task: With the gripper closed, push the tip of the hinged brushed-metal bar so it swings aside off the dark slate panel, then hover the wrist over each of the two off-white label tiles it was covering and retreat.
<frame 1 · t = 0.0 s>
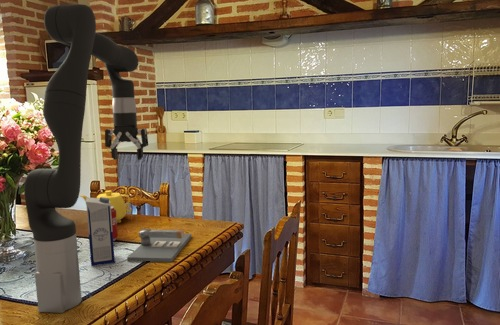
hand: (127, 159, 142), 29 cm above the table, fingers open, 8 cm apart
teapot: (107, 221, 174), on the table
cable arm: (160, 233, 139), point 5 cm above the table, hinge at 0.0°
beverage can: (108, 240, 149), on the table
panel: (162, 248, 140), on the table
milk carton: (102, 261, 130), on the table
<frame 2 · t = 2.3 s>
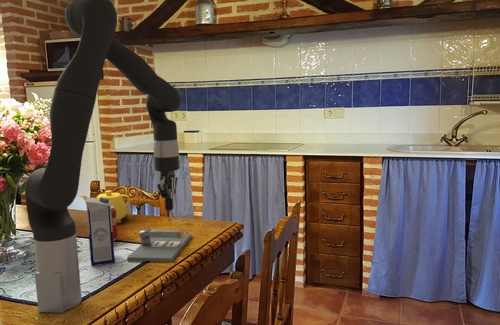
hand: (169, 209, 130), 15 cm above the table, fingers closed
nothing on the table moved.
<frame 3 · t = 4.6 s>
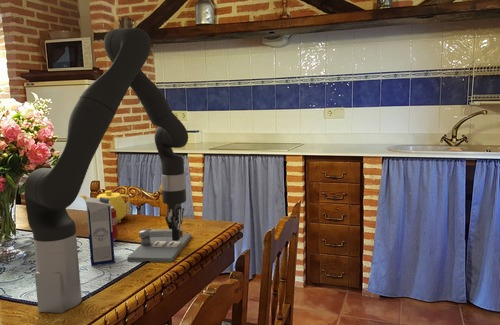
hand: (176, 239, 136), 4 cm above the table, fingers closed
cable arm: (161, 233, 140), point 5 cm above the table, hinge at 5.5°, touching gripper
everything else where it was.
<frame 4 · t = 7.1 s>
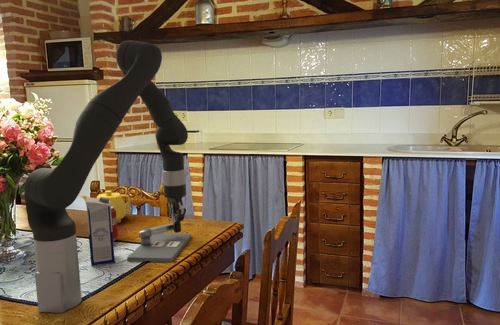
hand: (177, 231, 145), 4 cm above the table, fingers closed
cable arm: (159, 229, 143), point 5 cm above the table, hinge at 51.3°, touching gripper
everything else where it was.
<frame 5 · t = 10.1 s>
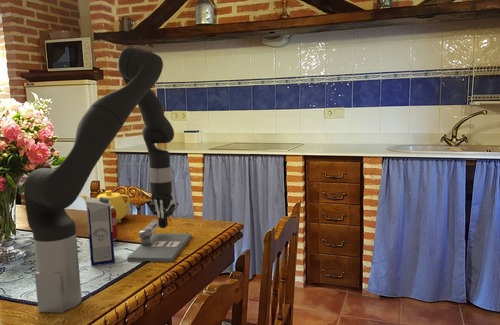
hand: (163, 227, 149), 4 cm above the table, fingers closed
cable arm: (150, 228, 145), point 5 cm above the table, hinge at 91.9°
everything else where it was.
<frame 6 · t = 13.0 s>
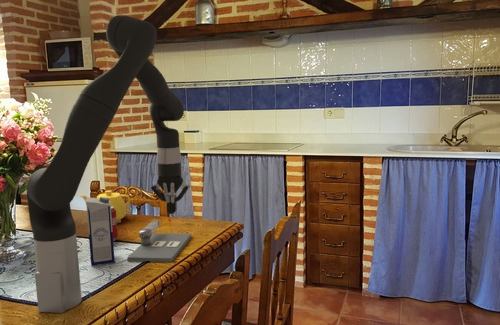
hand: (171, 213, 138), 12 cm above the table, fingers closed
nothing on the table moved.
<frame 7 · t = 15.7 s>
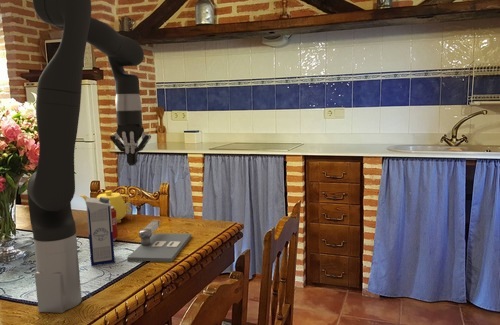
hand: (132, 165, 130), 29 cm above the table, fingers closed
nothing on the table moved.
at the end: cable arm at +92° (first picture: +0°) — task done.
